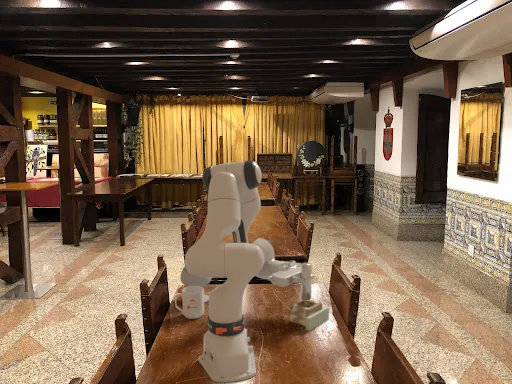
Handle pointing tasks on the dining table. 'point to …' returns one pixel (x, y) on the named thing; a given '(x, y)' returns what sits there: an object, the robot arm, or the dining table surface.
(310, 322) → the wall
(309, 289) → the dowel
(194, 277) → the chalice
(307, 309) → the socket block
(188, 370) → the dining table surface
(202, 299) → the mug
